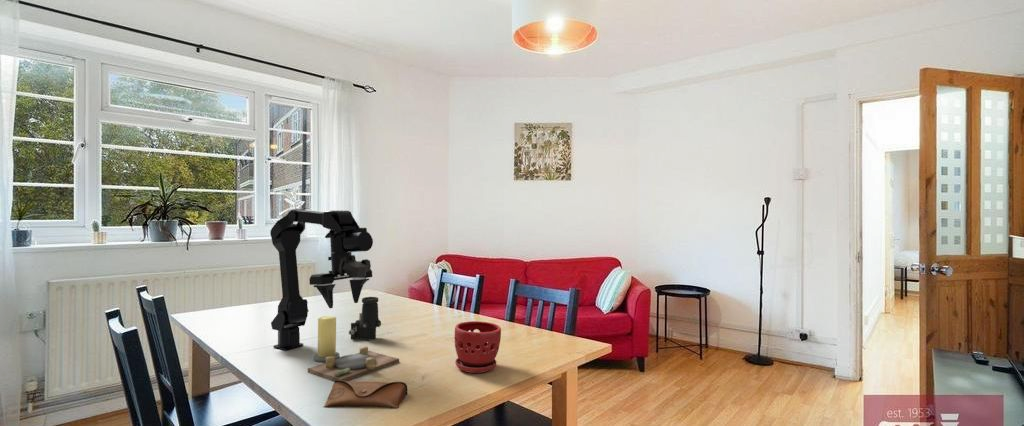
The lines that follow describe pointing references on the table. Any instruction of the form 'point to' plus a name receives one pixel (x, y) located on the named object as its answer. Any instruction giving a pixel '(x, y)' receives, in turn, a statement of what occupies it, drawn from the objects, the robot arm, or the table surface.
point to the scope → (366, 320)
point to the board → (352, 365)
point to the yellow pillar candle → (326, 339)
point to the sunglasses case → (367, 394)
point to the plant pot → (476, 346)
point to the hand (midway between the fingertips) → (343, 305)
